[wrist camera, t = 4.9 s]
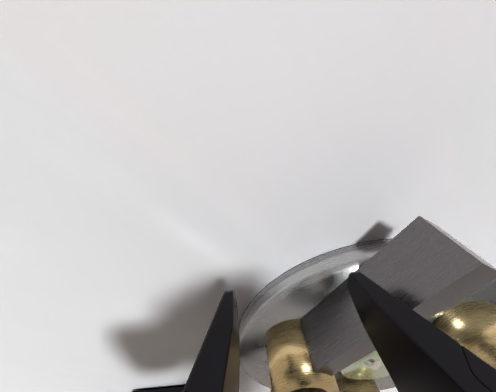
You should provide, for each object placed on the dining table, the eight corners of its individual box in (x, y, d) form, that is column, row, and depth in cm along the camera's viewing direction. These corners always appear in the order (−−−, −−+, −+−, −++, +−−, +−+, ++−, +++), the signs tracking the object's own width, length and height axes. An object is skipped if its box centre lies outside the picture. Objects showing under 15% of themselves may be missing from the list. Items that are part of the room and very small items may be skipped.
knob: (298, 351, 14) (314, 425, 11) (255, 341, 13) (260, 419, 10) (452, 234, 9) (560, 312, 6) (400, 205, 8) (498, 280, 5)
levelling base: (419, 383, 23) (462, 455, 18) (255, 398, 23) (259, 473, 19) (557, 220, 11) (766, 312, 7) (219, 256, 11) (207, 367, 7)
